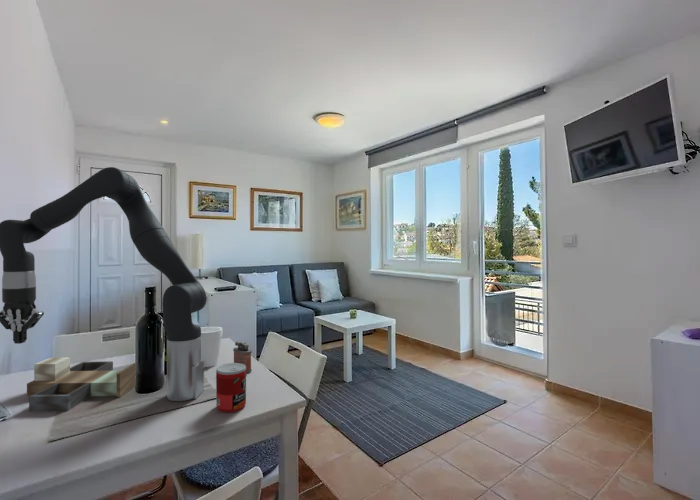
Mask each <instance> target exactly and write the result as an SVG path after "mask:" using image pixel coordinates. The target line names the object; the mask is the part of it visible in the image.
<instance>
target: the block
mask: <svg viewBox="0 0 700 500" xmlns="http://www.w3.org/2000/svg"><path fill="white" fill-rule="evenodd" d="M70 368H71V357H48V358H46V359H44V360H41V361H39V362H37V363H36V362H35V363H34V364H33V371H34V372H33V373H34V374H33V375H34V376H33V377H34V378H33V379H34V380H33V381H56V380H58V379H60V378H62V377H64V376H66V375H68V374H70Z"/></svg>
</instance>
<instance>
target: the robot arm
mask: <svg viewBox="0 0 700 500" xmlns="http://www.w3.org/2000/svg"><path fill="white" fill-rule="evenodd" d="M104 197H107V198H108V199H110V200H113V201H115V202H116V203H117V204H118V206H119V208H121V210H122V211H123V213H124V215H125V216H126V218H127V221H128V229H129V236H130V238H131V241H132V242H133V245H134V246H135V248H136V249H137V252H138V253H139V254H140V256H141V257H142V258H143V259H144V260H145V261H146V262H147V263H148V264H150V266H152V267H154V268H155V269H156V270H158V271H159V272H161V273H162V274H163V275H164V276H165V277H166V278H167V279H168V280H169V282H170V284H172V285H171V286H170V285H169V286H168V287H167V288H166V290H164V293H163V296H162V319H163V321H162V322H163V328H164V331H165V333H166V399H167V400H169V401H172V402H183V401H189V400H194V399H197V398H199V396H200V395H201V394H202V393H203V392H204V390H205V389H204V388H205V387H204V384H205V382H204V381H205V379H204V378H205V377H204V374H205V373H204V371H205V369H204V368H205V367H204V360H201V328H202V327H201V326H200V325H198V324H194V323H193V319H192V314H193V313H196V312H199V311H201V310H202V309H204V308H205V306H206V304H207V301H208V299H207V298H208V297H207V293H206V290H205V289H204V287H203V285H202V284H201V283H200V281H199V280H198V279H197V277H196V276H195V274H193V272H192V270H190V268H189V267H188V266H187V264H186V263H185V262H184V260H183V258H182V257H181V255H180V253H179V251H177V248H176V247H175V246H174V244H173V242H172V240H171V238H170V237H169V235H168V233H167V232H166V231H165V228H164V227H163V226H162V224H161V223H160V221H159V220H158V218H157V216H156V214H155V213H154V212H153V211H152V210H151V208H150V206H149V204H148V203H147V201H146V198H145V196H144V194H143V191H142V189H141V187H140V185H139V183H138V181H136V179H135V178H134V177H133V176H132V175H130V174H129V173H127V172H125V171H124V170H121V169H120V168H117V167H113V166H110V167H105V168H103V169H100V170H99V171H97V172H95V173H94V174H92V175H91V176H90V177H89V178H87V179H86V180H84V181H83V182H81V183H80V184H79V185H76V187H74V188H73V189H71V190H70V191H69V192H67V193H65V194H64V195H62V196H60V197H59V198H56V199H55V200H53V201H51V202H49V203H46V204H45V205H43V206H40V207H38V208H36V209H35V210H33V211H32V212H31V213H30V215H29V218H28V219H24V220H21V219H19V220H18V219H5V220H3V221H0V254H1V256H2V259H3V260H2V267H3V268H2V271H3V272H2V279H1V300H2V304H3V303H4V304H3V307H2V310H0V324H1V325H2V326H3V327H4V329H6V330H10V331H11V332H12V341H13V343H14V344H15V345H16V344H23V343H26V341H27V338H28V336H27V335H28V330H29V329H31V328H34V327H35V326H36V324H37V323H38V322H39V321H40V320H41V318H42V317H43V316H44V314H45V312H44V311H39V310H38V309H37V305H36V304H35V301H36V299H37V276H36V271H35V270H36V269H35V265H36V264H35V261H36V260H35V256H34V253H32V252H31V251H27V250H26V247H25V244H31V243H33V242H34V243H35V242H36V241H38V240H40V239H42V238H43V237H45V236H46V235H47V234H48V233H50V232H51V231H53V230H54V229H56V228H59V227H60V226H61V227H62V226H63V225H65V224H67V223H69V222H70V221H72V220H73V219H75V218H76V217H78V215H79V214H80V212H81V211H82V210H83V209H84V208H85V206H87V205H88V204H90V203H91V202H93V201H97V200H98V199H101V198H104Z"/></svg>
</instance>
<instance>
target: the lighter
mask: <svg viewBox="0 0 700 500" xmlns="http://www.w3.org/2000/svg"><path fill="white" fill-rule="evenodd" d="M234 345H235V346H236V347H233V349H232V350H233V363H241V364H244V365H245V366H246V374H250V373H249V372H251V371H253V369H252V353H253V352H252V350H251V349H250V348H249V344H248V343H247V342H246V341H243V342H241V341H235V343H234ZM251 373H252V372H251Z"/></svg>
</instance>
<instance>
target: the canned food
mask: <svg viewBox="0 0 700 500" xmlns="http://www.w3.org/2000/svg"><path fill="white" fill-rule="evenodd" d="M215 373H216V374H215V377H216V378H215V380H216V381H215V383H216V386H215V388H216V389H215V390H216V392H215V394H216V397H215V399H216V403H215V404H216V409H217V410H218V411H219V412H222V413H230V414H231V413H235V412H239V411H242V410H243V408H245V406H246V403H247V373H246V366H245V365H244V364H241V363H234V362H229V363H224V364H222V365H219V366H217V367H216V372H215Z"/></svg>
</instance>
